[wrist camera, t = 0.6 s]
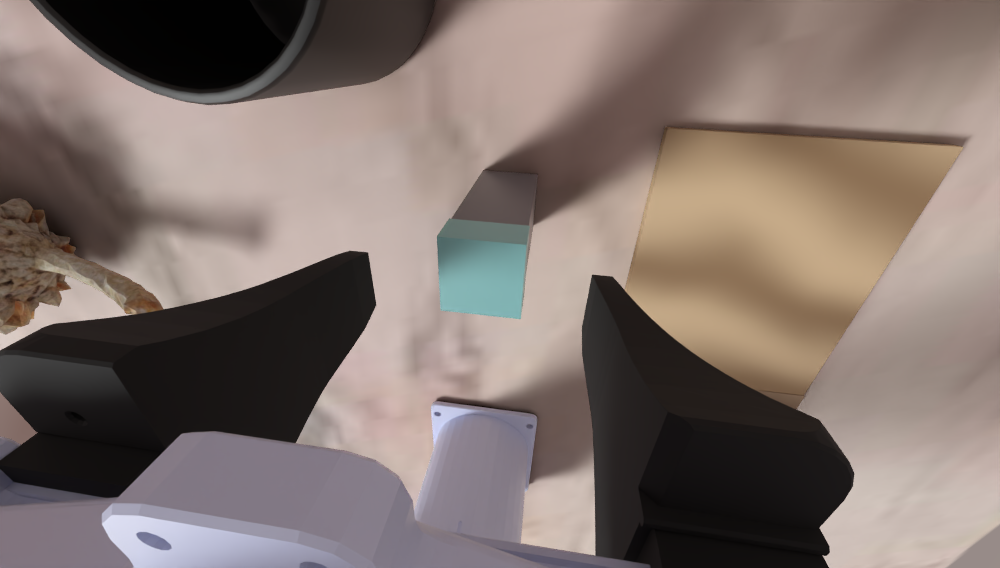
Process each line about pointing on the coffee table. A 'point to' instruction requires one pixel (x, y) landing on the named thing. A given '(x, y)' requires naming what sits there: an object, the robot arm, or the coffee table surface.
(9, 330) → the pine cone
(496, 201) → the teal block
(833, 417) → the coffee table surface
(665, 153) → the tan rectangular board
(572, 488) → the coffee table surface
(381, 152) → the coffee table surface
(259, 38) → the mug
